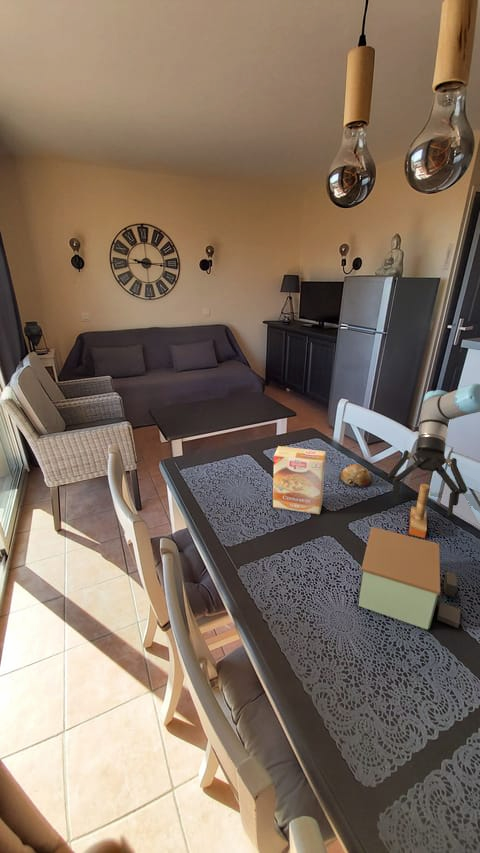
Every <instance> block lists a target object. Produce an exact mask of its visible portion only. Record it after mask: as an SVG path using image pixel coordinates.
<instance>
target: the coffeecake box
mask: <svg viewBox="0 0 480 853" xmlns="http://www.w3.org/2000/svg"><path fill="white" fill-rule="evenodd" d="M326 457H327V451H326V450H317V449H309V448H301V447H290V446H281V445H278V446H277V448H276V450H275V452H274V454H273V486H272V488H273V489H272V490H273V493H272V494H273V495H272V497H273V498H272V499H273V500H272V507H273V508H276V509H281V510H286V511H287V510H288V511H295V512H301V513H307V514H316V515H320V514H321V510H322V505H323V496H324V484H325V470H326V459H327V458H326Z"/></svg>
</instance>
